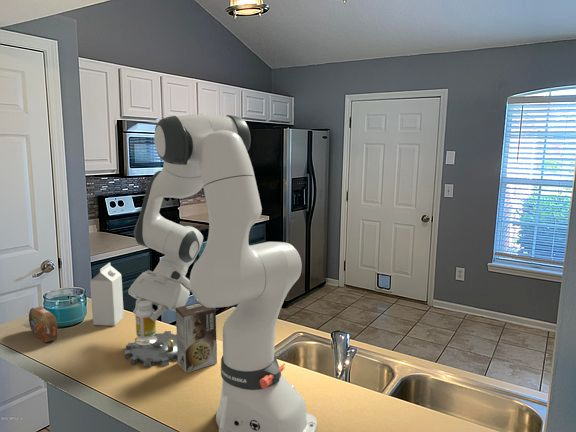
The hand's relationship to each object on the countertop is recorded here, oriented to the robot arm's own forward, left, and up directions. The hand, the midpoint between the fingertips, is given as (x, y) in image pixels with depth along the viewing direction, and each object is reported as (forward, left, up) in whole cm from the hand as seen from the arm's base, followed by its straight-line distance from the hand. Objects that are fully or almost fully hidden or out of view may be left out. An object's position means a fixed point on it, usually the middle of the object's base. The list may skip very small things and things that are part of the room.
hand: (143, 317), depth 125 cm
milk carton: (+23, -5, -9) cm, 25 cm away
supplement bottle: (0, -1, -6) cm, 6 cm away
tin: (+30, +13, -9) cm, 34 cm away
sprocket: (-5, -1, -9) cm, 10 cm away
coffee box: (-19, -2, -9) cm, 21 cm away
